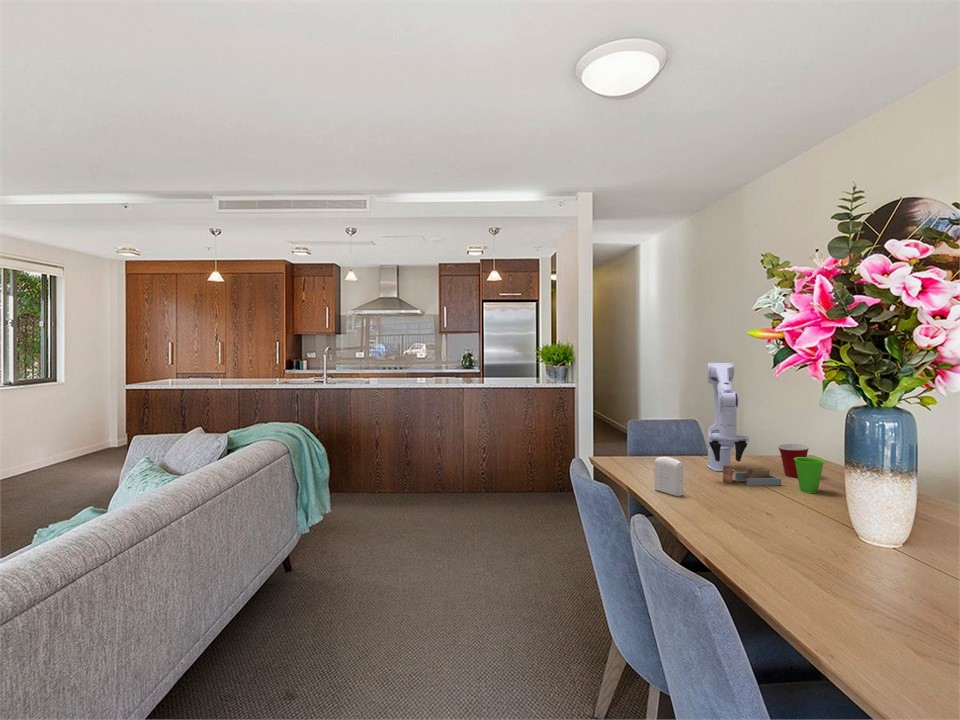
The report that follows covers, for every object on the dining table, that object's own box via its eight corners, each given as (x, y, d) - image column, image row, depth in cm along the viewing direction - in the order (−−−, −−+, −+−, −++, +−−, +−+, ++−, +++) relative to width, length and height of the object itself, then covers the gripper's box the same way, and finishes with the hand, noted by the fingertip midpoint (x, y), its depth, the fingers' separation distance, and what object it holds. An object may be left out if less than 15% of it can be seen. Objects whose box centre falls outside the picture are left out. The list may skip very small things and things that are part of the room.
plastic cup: (771, 472, 203) (771, 442, 203) (799, 472, 203) (799, 442, 203) (786, 479, 192) (786, 448, 192) (815, 479, 192) (816, 448, 192)
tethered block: (720, 480, 192) (720, 464, 192) (761, 480, 191) (762, 464, 191) (726, 484, 187) (726, 467, 187) (769, 484, 186) (769, 467, 186)
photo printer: (685, 495, 173) (685, 459, 173) (677, 497, 171) (677, 460, 171) (660, 488, 182) (660, 454, 182) (652, 490, 180) (652, 455, 180)
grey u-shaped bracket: (734, 478, 194) (734, 472, 194) (766, 478, 194) (766, 472, 194) (748, 485, 184) (748, 479, 184) (781, 485, 184) (781, 478, 184)
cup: (830, 494, 172) (830, 462, 172) (803, 494, 172) (803, 462, 172) (813, 487, 181) (813, 457, 181) (788, 487, 181) (788, 457, 181)
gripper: (713, 426, 185) (712, 463, 185) (753, 426, 185) (752, 463, 185) (704, 423, 192) (704, 459, 192) (743, 423, 192) (743, 459, 192)
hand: (727, 460), depth 189 cm, fingers open, 7 cm apart
